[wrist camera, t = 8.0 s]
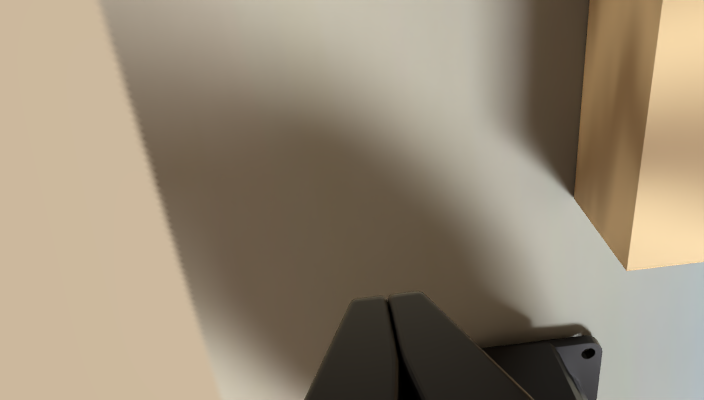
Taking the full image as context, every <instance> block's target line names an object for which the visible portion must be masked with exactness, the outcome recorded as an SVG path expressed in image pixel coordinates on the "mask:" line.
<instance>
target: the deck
mask: <svg viewBox="0 0 704 400" xmlns="http://www.w3.org/2000/svg"><path fill="white" fill-rule="evenodd" d="M574 199H575V201H576V202H577V203H578V205H579V206H580V207H581V209H582V210H583V212H584V213H585V214H586V216H587V217H588V218H589V220H590V221H591V223H592V224H593V225H594V227H595V228H596V230H597V231H598V232H599V234H600V235H601V236H602V238H603V239H604V241H605V242H606V243H607V245H608V246H609V247H610V249H611V250H612V252H613V253H614V254H615V256H616V257H617V258H618V260H619V261H620V263H621V264H622V265H623V267H624V268H625V269H626V271H631V270H639V269H648V268H656V267H664V266H673V265H681V264H689V263H698V262H704V0H590V3H589V15H588V28H587V40H586V53H585V65H584V78H583V91H582V103H581V116H580V128H579V141H578V153H577V166H576V178H575V191H574Z"/></svg>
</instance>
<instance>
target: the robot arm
mask: <svg viewBox="0 0 704 400" xmlns="http://www.w3.org/2000/svg"><path fill="white" fill-rule="evenodd" d="M588 348H590V349H588ZM585 349H588V350H587V351H584V350H585ZM601 357H602V348H601V346H600V345H599V343H598V341H597V340H596V339H595V338H594V337H592V336H579V337H571V338H562V339H554V340H546V341H538V342H529V343H521V344H513V345H505V346H496V347H488V348H480V347H479V346H478V345H477V344H476V343H475V342H474V341H473V340H472V339H471V338H470V337H469V336H468V335H467V334H466V333H464V332H463V331H462V330H461V329H460V328H459V327H458V326H457V325H456V324H455V323H454V322H453V321H452V320H451V319H450V318H449V317H448V316H447V315H446V314H445V313H444V312H443V311H442V310H441V309H440V308H439V307H437V306H436V305H435V304H434V303H433V302H432V301H431V300H430V299H429V298H428V297H427V296H426V295H425V294H424V293H422V292H420V291H415V292H407V293H398V294H392V295H390V296H389V298H388V302H387V299H386V298H385V297H383V296H374V297H365V298H357V299H354V300H353V301H351V303H350V305H349V307H348V309H347V311H346V313H345V315H344V317H343V319H342V321H341V323H340V326H339V328H338V330H337V332H336V334H335V336H334V338H333V340H332V342H331V344H330V347H329V349H328V351H327V353H326V355H325V357H324V359H323V361H322V363H321V366H320V368H319V370H318V372H317V374H316V376H315V378H314V380H313V382H312V385H311V387H310V389H309V391H308V393H307V395H306V397H305V399H304V400H596V399H597V391H598V382H599V374H600V366H601Z"/></svg>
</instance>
